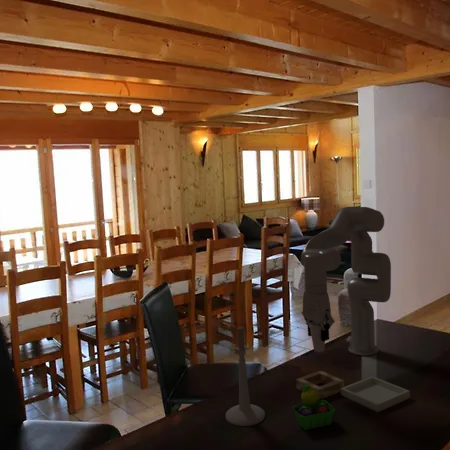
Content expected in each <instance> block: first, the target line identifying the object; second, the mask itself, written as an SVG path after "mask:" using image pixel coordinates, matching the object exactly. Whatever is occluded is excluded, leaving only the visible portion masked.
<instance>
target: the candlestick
mask: <svg viewBox="0 0 450 450" xmlns="http://www.w3.org/2000/svg"><path fill="white" fill-rule="evenodd" d="M236 333H237V335H236V336H237V346H236V347H235V350H237V355H238V356H239V357H238V358H239V359H238V395H239V396H238V398H239V399H238V403H239V404H237V405H234V406H232V407H230V408H229V409H228V410H227V411H226V412H225V420H226V422H228V423H229V424H232V425H234V426H239V427H247V426H248V427H249V426H254V425H257V424H259V423H261V422H263V420H265V417H266V413H265V409H263V408H262V407H260V406H259V405H255V404H251V399H250V394H249V393H250V392H249V385H248V384H249V383H248V375H247V365H246V358H245V354H246V352H247V351H246V350H247V349H248V347H247V346H245V339H244V338H245V335H244V327H243V326H238V327H237V328H236Z"/></svg>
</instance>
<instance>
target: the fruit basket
mask: <svg viewBox="0 0 450 450" xmlns="http://www.w3.org/2000/svg"><path fill="white" fill-rule="evenodd" d="M300 398H301V402H302V403H301V404H297V405H293V406H292V411H294V414H295V417H296V420H297V423H298V424H299V426H300V427H302V429H303V430H304V431H307V430H310V429H316V428H321V427H322V428H323V427H325V426H330V425H332V422H333V418H334V414H335V412H336V411H335V410H336V409H335V408H334V407H333V406H332V405H331V404H330V403H329V402H328V401H327V400H325V399H321V400H318V399H319V396H318V394H317V392H316V391H315V390H314V388H313V387H312V386H310V385H308V384H307V385H304V386H303V391H301V397H300Z"/></svg>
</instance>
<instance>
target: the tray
mask: <svg viewBox="0 0 450 450" xmlns="http://www.w3.org/2000/svg"><path fill="white" fill-rule="evenodd" d="M340 389H341V392H340V396H341V395H342V397H343V396H344V397H343V398H345V397H346V398H345V399H347V398H348V400H350V401H352V402H354V403H357V404H358V405H360V406H363V407H364V408H367V409H368V410H371V411H373V412H375V413H379V412H382V411H384V410H386V409H388V408H390V407H393V406H396V405H398V404H400V403H402V402H404V401H406V400H408V399H410V398H411V397H410V396H411V393H410V390H409V389H406V388H403V387H400V386H399V385H396V384H393V383H390V382H388V381H386V380H383V379H380V378H378V377H375V376H373V375H371V376H369V377H367V378H364V379H362V380H358V381H355V382H354V383H351V384H348V385H346V386H345V387H343V388H340Z"/></svg>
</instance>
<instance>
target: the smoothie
mask: <svg viewBox="0 0 450 450" xmlns="http://www.w3.org/2000/svg"><path fill="white" fill-rule="evenodd" d="M324 325H326V324H325V322H324ZM309 327H310V331H311V336H310V337H311V342H312V346H313V351H314V352H317V353H321V352H325V347H326V346H325V345H326V341H322V340H321V330H322V327H321V324H320V323H318V322H315V321H313V322H310V323H309Z"/></svg>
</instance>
